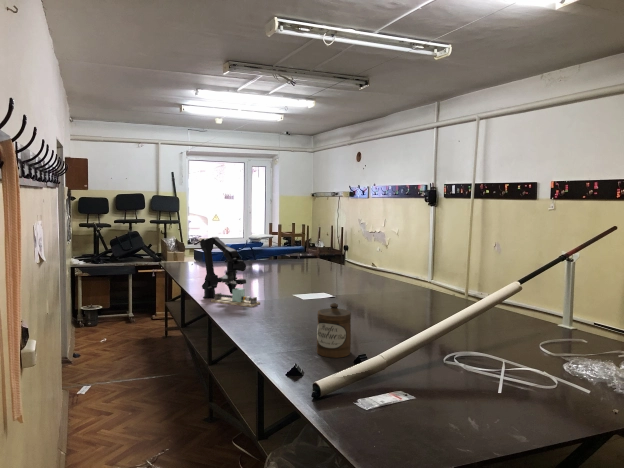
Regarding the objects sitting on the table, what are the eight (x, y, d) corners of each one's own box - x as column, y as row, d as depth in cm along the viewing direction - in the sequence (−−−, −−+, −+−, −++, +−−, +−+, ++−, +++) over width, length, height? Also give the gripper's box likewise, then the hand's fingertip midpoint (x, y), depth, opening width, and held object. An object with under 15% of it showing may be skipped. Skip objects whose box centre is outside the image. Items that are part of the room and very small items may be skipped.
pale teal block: (232, 301, 304) (232, 289, 303) (236, 299, 308) (236, 287, 308) (240, 302, 301) (240, 290, 301) (244, 300, 306) (244, 288, 305)
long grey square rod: (215, 297, 311) (215, 293, 310) (218, 296, 313) (218, 292, 313) (253, 301, 299) (253, 298, 299) (255, 301, 301) (255, 297, 301)
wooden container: (311, 355, 206) (312, 304, 204) (323, 345, 220) (324, 298, 218) (344, 360, 201) (346, 308, 199) (354, 349, 215) (355, 301, 213)
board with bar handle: (211, 301, 307) (211, 294, 307) (221, 298, 317) (221, 291, 317) (251, 307, 295) (251, 299, 294) (260, 303, 305) (260, 296, 304)
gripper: (212, 270, 302) (212, 294, 303) (237, 272, 294) (236, 297, 296) (222, 268, 312) (222, 291, 313) (246, 270, 305) (246, 294, 306)
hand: (231, 293), depth 307 cm, fingers closed
